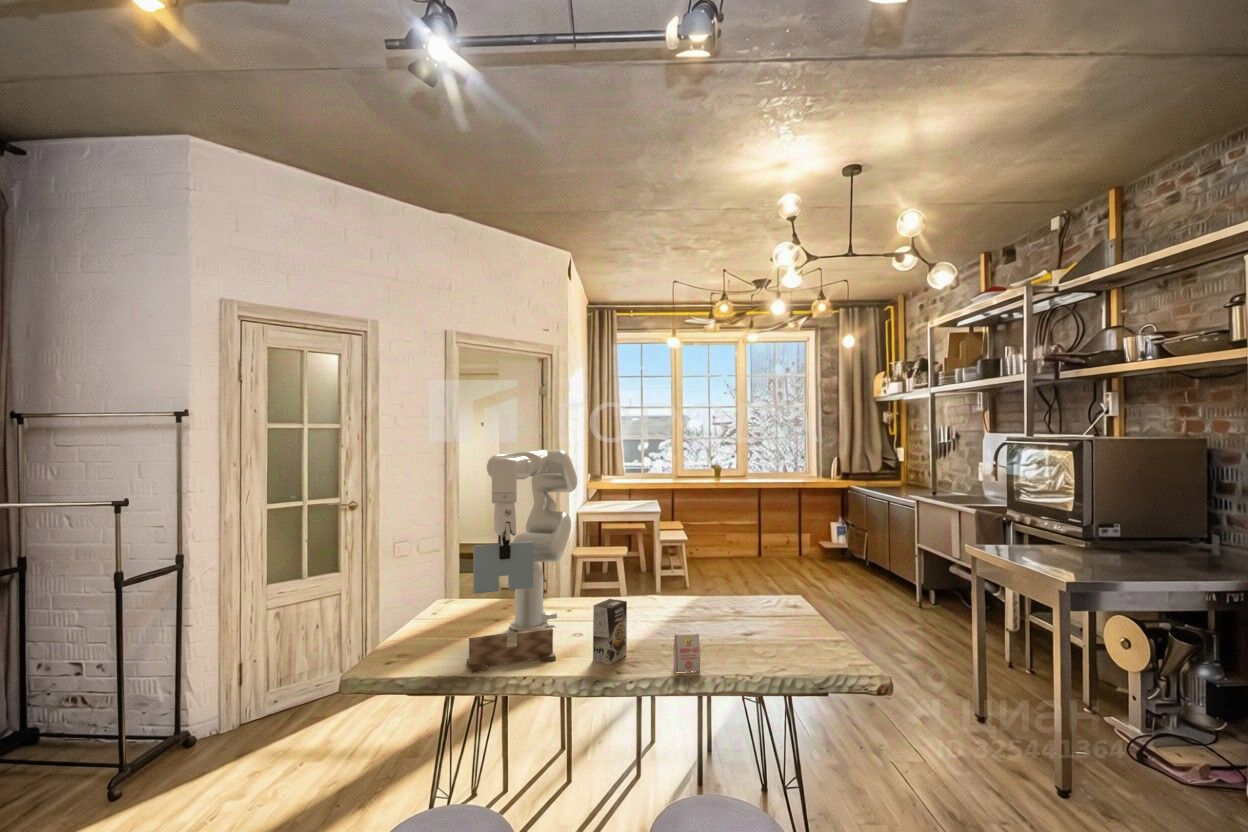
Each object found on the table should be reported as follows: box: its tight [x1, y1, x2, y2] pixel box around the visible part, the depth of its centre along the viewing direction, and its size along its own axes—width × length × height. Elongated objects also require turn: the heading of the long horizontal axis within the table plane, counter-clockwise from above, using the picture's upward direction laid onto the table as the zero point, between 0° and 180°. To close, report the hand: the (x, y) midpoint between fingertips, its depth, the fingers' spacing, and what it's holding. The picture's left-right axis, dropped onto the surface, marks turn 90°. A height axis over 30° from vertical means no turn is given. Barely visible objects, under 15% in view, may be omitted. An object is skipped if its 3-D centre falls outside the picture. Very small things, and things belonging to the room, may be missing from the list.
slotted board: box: [466, 626, 557, 674], centre depth 176 cm, size 24×8×8 cm, turn 114°
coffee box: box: [592, 598, 628, 666], centre depth 179 cm, size 9×6×16 cm
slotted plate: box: [472, 541, 533, 595], centre depth 187 cm, size 18×2×14 cm, turn 114°
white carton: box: [673, 633, 701, 673], centre depth 170 cm, size 4×7×10 cm, turn 95°
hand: (503, 557), depth 187 cm, fingers closed on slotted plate, 2 cm apart
